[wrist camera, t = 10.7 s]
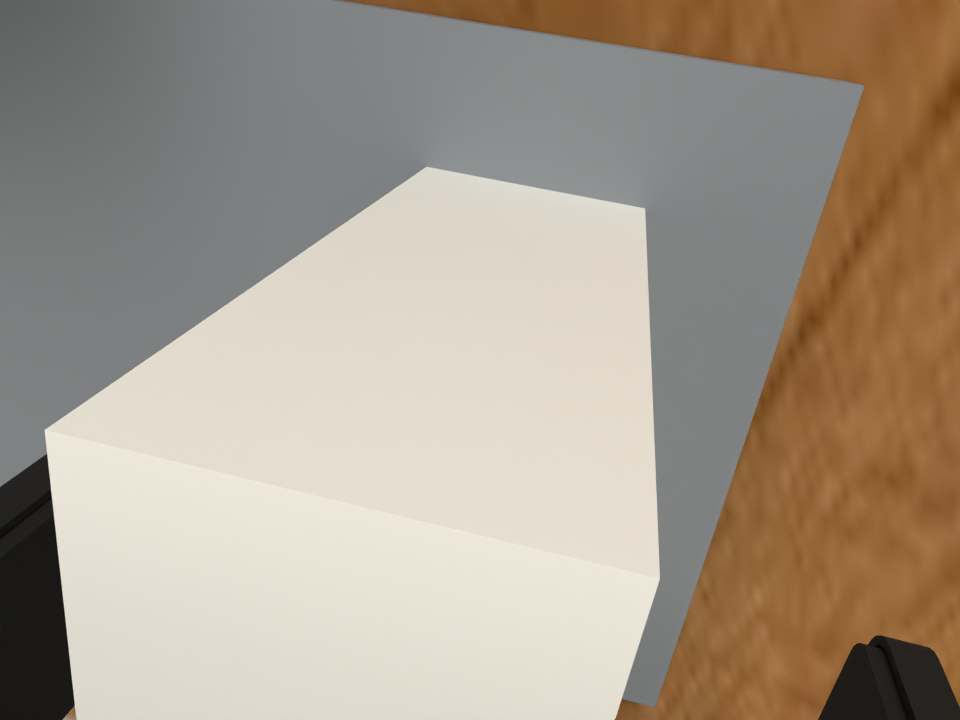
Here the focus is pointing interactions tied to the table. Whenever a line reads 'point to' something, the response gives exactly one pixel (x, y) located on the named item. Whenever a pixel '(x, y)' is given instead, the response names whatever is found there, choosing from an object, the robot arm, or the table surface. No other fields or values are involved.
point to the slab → (379, 478)
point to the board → (377, 171)
